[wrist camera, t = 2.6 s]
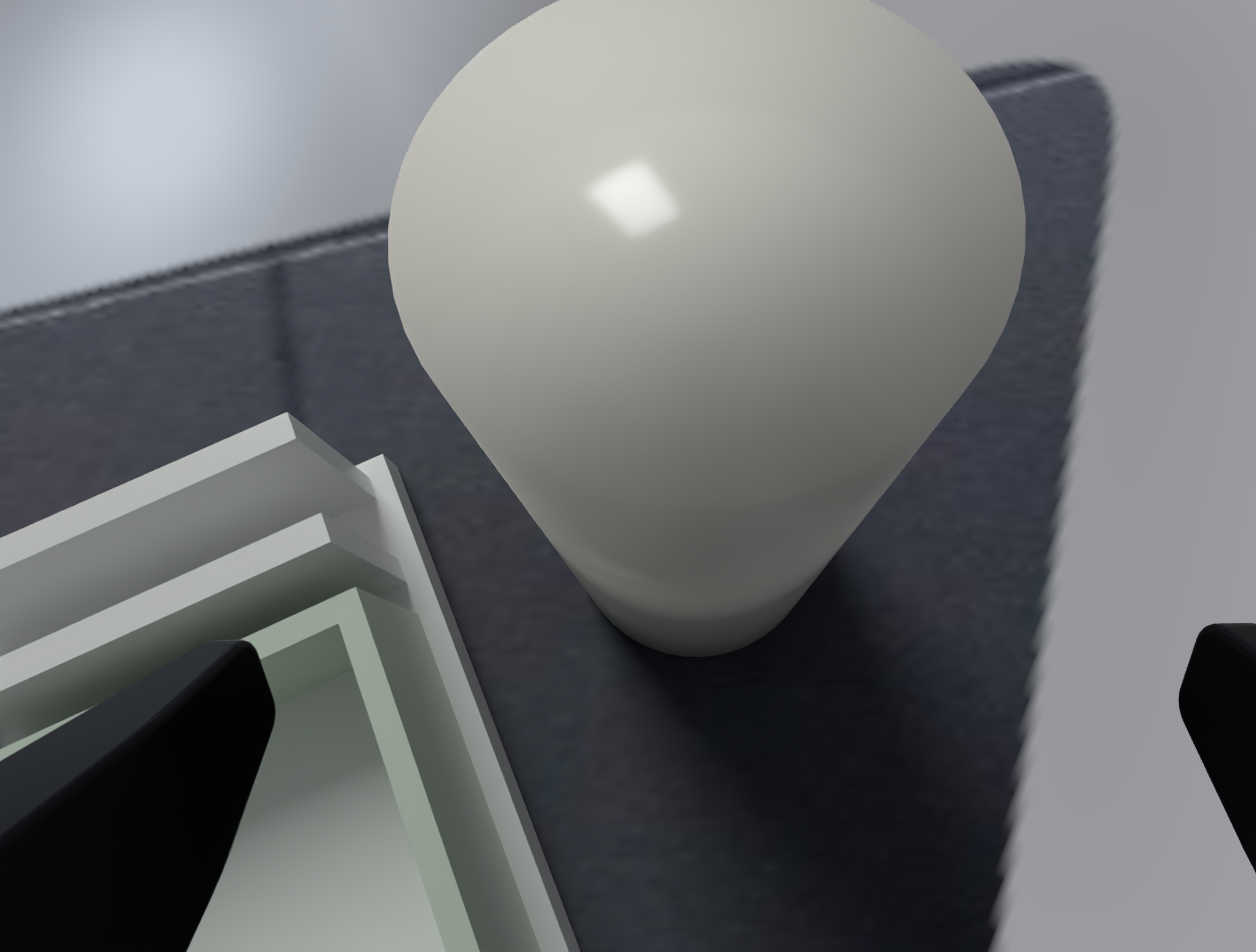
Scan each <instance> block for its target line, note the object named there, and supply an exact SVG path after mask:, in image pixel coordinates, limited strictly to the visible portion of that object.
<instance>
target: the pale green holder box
mask: <svg viewBox="0 0 1256 952" xmlns="http://www.w3.org/2000/svg"><path fill="white" fill-rule="evenodd" d="M213 640H245V641H248V642H250V643H251V644H252V645H253V646H254V647H255V648H256V650H257V652H258V655H259V657H260V660H261V663H262V666H263V669H264V672H265V675H266V678H267V681H268V684H269V686H270V689H271V692H272V695H273V698H274V702H275V709H276V715H275V723H274V727H273V731H272V733H271V736H270V739H269V742H268V745H267V748H266V751H265V754H264V757H263V759H262V762H261V765H260V768H259V771H258V774H257V777H256V780H255V783H254V785H253V788H252V791H251V794H250V797H249V800H248V803H247V806H246V809H245V811H244V814H243V817H242V820H241V823H240V826H239V829H238V832H237V835H236V837H235V840H234V843H233V846H232V849H231V851H230V854H229V857H228V859H227V862H226V865H225V867H224V870H223V872H222V875H221V877H220V879H219V882H218V884H217V886H216V889H215V891H214V893H213V895H212V898H211V900H210V902H209V904H208V906H207V909H206V911H205V913H204V915H203V917H202V919H201V922H200V924H199V926H198V928H197V930H196V932H195V935H194V937H193V939H192V941H191V943H190V945H189V948H188V950H187V952H581V951H580V949H579V946H578V943H577V941H576V938H575V935H574V933H573V930H572V927H571V925H570V922H569V919H568V917H567V914H566V912H565V909H564V906H563V904H562V901H561V898H560V896H559V893H558V890H557V888H556V885H555V882H554V880H553V877H552V875H551V872H550V869H549V867H548V864H547V861H546V859H545V856H544V853H543V851H542V848H541V845H540V843H539V840H538V838H537V835H536V832H535V830H534V827H533V824H532V822H531V819H530V816H529V814H528V811H527V808H526V806H525V803H524V801H523V798H522V795H521V793H520V790H519V787H518V785H517V782H516V779H515V777H514V774H513V771H512V769H511V766H510V764H509V761H508V758H507V756H506V753H505V750H504V748H503V745H502V742H501V740H500V737H499V734H498V732H497V729H496V727H495V724H494V721H493V719H492V716H491V713H490V711H489V708H488V705H487V703H486V700H485V697H484V695H483V692H482V689H481V687H480V684H479V682H478V679H477V676H476V674H475V671H474V668H473V666H472V663H471V660H470V658H469V655H468V652H467V650H466V647H465V645H464V642H463V639H462V637H461V634H460V631H459V629H458V626H457V623H456V621H455V618H454V615H453V613H452V610H451V608H450V605H449V602H448V600H447V597H446V594H445V592H444V589H443V586H442V584H441V581H440V578H439V576H438V573H437V571H436V568H435V565H434V563H433V560H432V557H431V555H430V552H429V549H428V547H427V544H426V541H425V539H424V536H423V534H422V531H421V528H420V526H419V523H418V520H417V518H416V515H415V512H414V510H413V507H412V504H411V502H410V499H409V497H408V494H407V491H406V489H405V486H404V483H403V481H402V478H401V475H400V473H399V470H398V467H397V466H396V465H394V464H393V463H392V462H391V461H390V460H389V459H388V458H387V457H386V456H385V455H383V454H381V455H379V456H377V457H375V458H372V459H370V460H368V461H366V462H363V463H361V464H359V465H357V466H354V465H353V464H352V463H351V462H349V461H348V460H347V459H346V458H344V457H343V456H342V455H341V454H339V453H338V452H337V451H336V450H334V449H333V448H332V447H331V446H329V445H328V444H327V443H326V442H324V441H323V440H322V439H321V438H319V437H318V436H317V435H316V434H314V433H313V432H312V431H311V430H309V429H308V428H307V427H305V426H304V425H303V424H302V423H300V422H299V421H298V420H297V419H295V418H294V417H293V416H292V415H290V414H289V413H288V412H286V413H284V414H281V415H279V416H277V417H275V418H272V419H270V420H268V421H266V422H263V423H261V424H259V425H256V426H254V427H252V428H250V429H247V430H245V431H243V432H241V433H238V434H236V435H234V436H231V437H229V438H227V439H225V440H222V441H220V442H218V443H216V444H213V445H211V446H209V447H206V448H204V449H202V450H200V451H197V452H195V453H193V454H191V455H188V456H186V457H184V458H182V459H179V460H177V461H175V462H172V463H170V464H168V465H166V466H163V467H161V468H159V469H157V470H154V471H152V472H150V473H147V474H145V475H143V476H141V477H138V478H136V479H134V480H132V481H129V482H127V483H125V484H122V485H120V486H118V487H116V488H113V489H111V490H109V491H107V492H104V493H102V494H100V495H97V496H95V497H93V498H91V499H88V500H86V501H84V502H82V503H79V504H77V505H75V506H73V507H70V508H68V509H66V510H63V511H61V512H59V513H57V514H54V515H52V516H50V517H48V518H45V519H43V520H41V521H38V522H36V523H34V524H32V525H29V526H27V527H25V528H23V529H20V530H18V531H16V532H13V533H11V534H9V535H7V536H4V537H2V538H0V761H1V760H3V759H4V758H6V757H8V756H10V755H11V754H13V753H15V752H16V751H18V750H20V749H22V748H23V747H25V746H27V745H29V744H30V743H32V742H34V741H35V740H37V739H39V738H41V737H42V736H44V735H46V734H47V733H49V732H51V731H53V730H54V729H56V728H58V727H59V726H61V725H63V724H65V723H66V722H68V721H70V720H72V719H73V718H75V717H77V716H78V715H80V714H82V713H84V712H85V711H87V710H89V709H90V708H92V707H94V706H96V705H97V704H99V703H101V702H102V701H104V700H106V699H108V698H109V697H111V696H113V695H115V694H116V693H118V692H120V691H121V690H123V689H125V688H127V687H128V686H130V685H132V684H133V683H135V682H137V681H139V680H140V679H142V678H144V677H145V676H147V675H149V674H151V673H152V672H154V671H156V670H158V669H159V668H161V667H163V666H164V665H166V664H168V663H170V662H171V661H173V660H175V659H176V658H178V657H180V656H182V655H183V654H185V653H187V652H188V651H190V650H192V649H194V648H195V647H197V646H199V645H201V644H202V643H205V642H208V641H213Z"/></svg>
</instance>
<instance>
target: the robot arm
mask: <svg viewBox="0 0 1256 952" xmlns="http://www.w3.org/2000/svg"><path fill="white" fill-rule="evenodd" d="M1179 709H1180V713H1181V717H1182V719H1183V722H1184V724H1185V726H1186V728H1187V730H1188V732H1189V735H1190V737H1191V739H1192V741H1193V743H1194V745H1195V747H1196V749H1197V751H1198V754H1199V755H1200V758H1201V760H1202V762H1203V764H1204V766H1205V768H1206V770H1207V773H1208V775H1209V777H1210V779H1211V781H1212V783H1213V785H1214V787H1215V790H1216V792H1217V794H1218V796H1219V798H1220V800H1221V802H1222V804H1223V806H1224V809H1225V811H1226V813H1227V815H1228V817H1229V819H1230V821H1231V823H1232V825H1233V828H1234V830H1235V832H1236V834H1237V836H1238V838H1239V840H1240V842H1241V844H1242V847H1243V849H1244V851H1245V853H1246V855H1247V857H1248V859H1249V861H1250V863H1251V865H1252V866H1253V868H1254V870H1255V872H1256V624H1254V623H1223V624H1222V623H1220V624H1211V625H1209V626H1206V627H1205V628H1203V630H1202V631H1201V632H1200V633H1199V635H1198V637H1197V639H1196V642H1195V645H1194V648H1193V652H1192V655H1191V657H1190V660H1189V664H1188V667H1187V670H1186V673H1185V676H1184V679H1183V682H1182V685H1181V688H1180V692H1179ZM275 715H276V709H275V702H274V698H273V695H272V692H271V689H270V686H269V684H268V681H267V678H266V675H265V672H264V669H263V666H262V663H261V660H260V657H259V655H258V652H257V650H256V648H255V647H254V646H253V645H252V644H251V643H250V642H248V641H245V640H213V641H208V642H205V643H202V644H201V645H199V646H197V647H195V648H194V649H192V650H190V651H188V652H187V653H185V654H183V655H182V656H180V657H178V658H176V659H175V660H173V661H171V662H170V663H168V664H166V665H164V666H163V667H161V668H159V669H158V670H156V671H154V672H152V673H151V674H149V675H147V676H145V677H144V678H142V679H140V680H139V681H137V682H135V683H133V684H132V685H130V686H128V687H127V688H125V689H123V690H121V691H120V692H118V693H116V694H115V695H113V696H111V697H109V698H108V699H106V700H104V701H102V702H101V703H99V704H97V705H96V706H94V707H92V708H90V709H89V710H87V711H85V712H84V713H82V714H80V715H78V716H77V717H75V718H73V719H72V720H70V721H68V722H66V723H65V724H63V725H61V726H59V727H58V728H56V729H54V730H53V731H51V732H49V733H47V734H46V735H44V736H42V737H41V738H39V739H37V740H35V741H34V742H32V743H30V744H29V745H27V746H25V747H23V748H22V749H20V750H18V751H16V752H15V753H13V754H11V755H10V756H8V757H6V758H4V759H3V760H1V761H0V952H187V950H188V948H189V945H190V943H191V941H192V939H193V937H194V935H195V932H196V930H197V928H198V926H199V924H200V922H201V919H202V917H203V915H204V913H205V911H206V909H207V906H208V904H209V902H210V900H211V898H212V895H213V893H214V891H215V889H216V886H217V884H218V882H219V879H220V877H221V875H222V872H223V870H224V867H225V865H226V862H227V859H228V857H229V854H230V851H231V849H232V846H233V843H234V840H235V837H236V835H237V832H238V829H239V826H240V823H241V820H242V817H243V814H244V811H245V809H246V806H247V803H248V800H249V797H250V794H251V791H252V788H253V785H254V783H255V780H256V777H257V774H258V771H259V768H260V765H261V762H262V759H263V757H264V754H265V751H266V748H267V745H268V742H269V739H270V736H271V733H272V731H273V727H274V723H275Z"/></svg>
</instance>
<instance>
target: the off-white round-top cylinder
mask: <svg viewBox="0 0 1256 952" xmlns="http://www.w3.org/2000/svg"><path fill="white" fill-rule="evenodd" d="M1024 254H1025V209H1024V202H1023V195H1022V188H1021V181H1020V177H1019V174H1018V170H1017V167H1016V164H1015V161H1014V157H1013V154H1012V151H1011V148H1010V145H1009V143H1008V141H1007V138H1006V136H1005V134H1004V132H1003V130H1002V128H1001V126H1000V124H999V122H998V120H997V118H996V116H995V114H994V112H993V110H992V109H991V107H990V106H989V104H988V103H987V101H986V100H985V99H984V97H983V96H982V94H981V93H980V91H979V90H978V88H977V87H976V85H975V84H974V82H973V81H972V80H971V79H970V78H969V77H968V76H967V75H966V73H965V72H964V71H963V70H962V69H961V68H960V67H959V66H958V65H957V63H955V61H954V60H953V59H952V58H951V57H950V56H949V55H948V54H947V53H946V52H945V51H943V50H942V49H941V48H940V47H939V46H937V45H936V44H935V43H934V42H933V41H932V40H930V39H929V38H928V37H927V36H926V35H925V34H924V33H922V32H921V31H919V30H918V29H916V28H915V27H913V26H912V25H910V24H909V23H907V22H906V21H904V20H903V19H901V18H900V17H899V16H897V15H895V14H894V13H892V12H890V11H889V10H886V9H885V8H882V7H881V6H879V5H877V4H875V3H873V2H871V1H869V0H559V1H557V2H555V3H553V4H551V5H549V6H547V7H545V8H543V9H540V10H539V11H537V12H536V13H534V14H533V15H531V16H529V17H527V18H526V19H524V20H523V21H521V22H519V23H518V24H516V25H514V26H513V27H511V28H510V29H508V30H507V31H506V32H504V33H503V34H502V35H500V36H499V37H498V38H497V39H495V40H494V41H493V42H491V43H490V44H489V45H488V46H486V47H485V48H484V49H482V50H481V51H480V52H479V53H478V54H477V55H476V56H475V57H474V58H473V59H472V60H471V61H470V62H469V63H468V64H467V65H466V66H465V67H464V68H463V69H462V70H461V71H460V72H459V73H458V74H457V75H456V76H455V77H454V79H453V80H452V81H451V82H450V83H449V85H448V86H447V87H446V88H445V90H444V91H443V92H442V93H441V94H440V96H439V97H438V98H437V100H436V101H435V102H434V104H433V105H432V107H431V109H430V110H429V112H428V113H427V115H426V117H425V118H424V120H423V122H422V123H421V125H420V126H419V128H418V129H417V131H416V134H415V136H414V138H413V140H412V142H411V145H410V147H409V149H408V151H407V154H406V156H405V158H404V161H403V163H402V166H401V170H400V173H399V176H398V180H397V183H396V187H395V190H394V193H393V199H392V206H391V213H390V220H389V227H388V256H389V269H390V275H391V282H392V288H393V294H394V299H395V302H396V305H397V308H398V311H399V315H400V318H401V321H402V324H403V327H404V330H405V333H406V335H407V337H408V339H409V341H410V343H411V345H412V347H413V349H414V351H415V353H416V355H417V357H418V359H419V361H420V363H421V365H422V366H423V368H424V369H425V371H426V372H427V373H428V375H429V376H430V378H431V379H432V380H433V382H434V383H435V385H436V386H437V388H438V389H439V390H440V392H441V393H442V395H443V396H444V397H445V399H446V400H447V401H448V403H449V404H450V406H451V407H452V408H453V410H454V411H455V412H456V414H457V415H458V416H459V418H460V419H461V421H462V422H463V423H464V425H465V426H466V427H467V429H468V430H469V432H470V433H471V434H472V436H473V437H474V438H475V440H476V441H477V442H478V444H479V445H480V447H481V448H482V449H483V451H484V452H485V453H486V455H487V456H488V457H489V459H490V460H491V462H492V463H493V464H494V466H495V467H496V468H497V470H498V471H499V472H500V474H501V475H502V477H503V478H504V479H505V481H506V482H507V483H508V485H509V486H510V487H511V489H512V490H513V492H514V493H515V494H516V496H517V497H518V498H519V500H520V501H521V503H522V504H523V505H524V507H525V508H526V509H527V511H528V512H529V513H530V515H531V516H532V518H533V519H534V520H535V522H536V523H537V524H538V526H539V527H540V528H541V530H542V531H543V533H544V534H545V535H546V537H547V538H548V539H549V541H550V542H551V543H552V545H553V546H554V548H555V549H556V550H557V552H558V553H559V554H560V556H561V557H562V558H563V560H564V561H565V563H566V564H567V565H568V567H569V568H570V569H571V571H572V572H573V574H574V575H575V576H576V578H577V579H578V580H579V582H580V583H581V584H582V586H583V587H584V589H585V590H586V591H587V593H588V594H589V595H590V597H591V598H592V599H593V601H594V602H595V604H596V605H597V606H598V608H599V609H600V610H601V612H602V613H603V614H604V615H605V616H606V617H607V618H608V620H609V621H610V622H611V623H612V624H613V625H614V626H616V627H617V628H618V629H619V630H620V631H622V632H623V633H624V634H625V635H627V636H629V637H630V638H632V639H633V640H635V641H637V642H638V643H640V644H642V645H645V646H647V647H649V648H651V649H654V650H657V651H660V652H664V653H667V654H672V655H678V656H684V657H706V656H715V655H720V654H724V653H728V652H732V651H735V650H738V649H740V648H743V647H745V646H748V645H750V644H751V643H753V642H755V641H757V640H758V639H760V638H762V637H763V636H765V635H766V634H767V633H769V632H770V631H771V630H773V629H774V628H775V627H776V626H777V625H778V624H779V623H780V622H781V621H782V620H783V619H784V618H785V617H786V616H787V615H788V613H789V612H790V611H791V610H792V608H793V607H794V606H795V605H796V603H797V602H798V601H799V599H800V598H801V597H802V596H803V594H804V593H805V592H806V591H807V589H808V588H809V587H810V586H811V584H812V583H813V582H814V581H815V579H816V578H817V577H818V575H819V574H820V573H821V572H822V570H823V569H824V568H825V567H826V565H827V564H828V563H829V562H830V560H831V559H832V558H833V556H834V555H835V554H836V553H837V551H838V550H839V549H840V548H841V546H842V545H843V544H844V543H845V541H846V540H847V539H848V538H849V536H850V535H851V534H852V532H853V531H854V530H855V529H856V527H857V526H858V525H859V524H860V522H861V521H862V520H863V519H864V517H865V516H866V515H867V514H868V512H869V511H870V510H871V508H872V507H873V506H874V505H875V503H876V502H877V501H878V500H879V498H880V497H881V496H882V495H883V493H884V492H885V491H886V490H887V488H888V487H889V486H890V484H891V483H892V482H893V481H894V479H895V478H896V477H897V476H898V474H899V473H900V472H901V471H902V469H903V468H904V467H905V465H906V464H907V463H908V462H909V460H910V459H911V458H912V457H913V455H914V454H915V453H916V452H917V450H918V449H919V448H920V447H921V445H922V444H923V443H924V441H925V440H926V439H927V438H928V436H929V435H930V434H931V433H932V431H933V430H934V429H935V428H936V426H937V425H938V424H939V423H940V421H941V420H942V419H943V417H944V416H945V415H946V414H947V412H948V411H949V410H950V409H951V407H952V406H953V405H954V404H955V402H956V401H957V400H958V399H959V397H960V396H961V395H962V393H963V392H964V391H965V389H966V388H967V387H968V385H969V384H970V383H971V381H972V380H973V379H974V377H975V376H976V375H977V373H978V372H979V371H980V369H981V368H982V367H983V365H984V364H985V363H986V361H987V359H988V358H989V356H990V354H991V352H992V350H993V348H994V346H995V345H996V343H997V341H998V339H999V337H1000V335H1001V333H1002V332H1003V330H1004V328H1005V326H1006V323H1007V320H1008V317H1009V314H1010V311H1011V309H1012V306H1013V303H1014V300H1015V297H1016V294H1017V291H1018V288H1019V282H1020V276H1021V271H1022V265H1023V260H1024Z"/></svg>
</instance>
